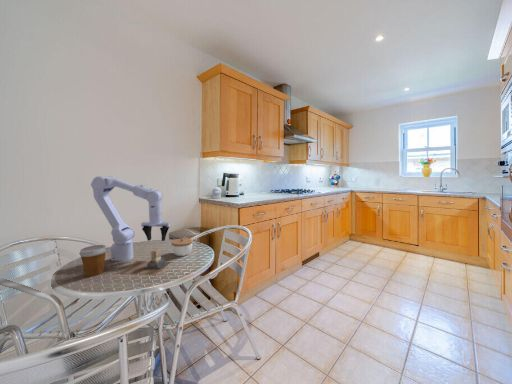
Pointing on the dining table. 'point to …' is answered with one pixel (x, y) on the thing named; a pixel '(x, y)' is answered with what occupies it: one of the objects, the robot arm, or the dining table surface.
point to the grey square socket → (156, 264)
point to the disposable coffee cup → (93, 259)
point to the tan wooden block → (155, 255)
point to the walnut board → (141, 269)
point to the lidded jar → (182, 246)
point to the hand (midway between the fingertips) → (156, 240)
